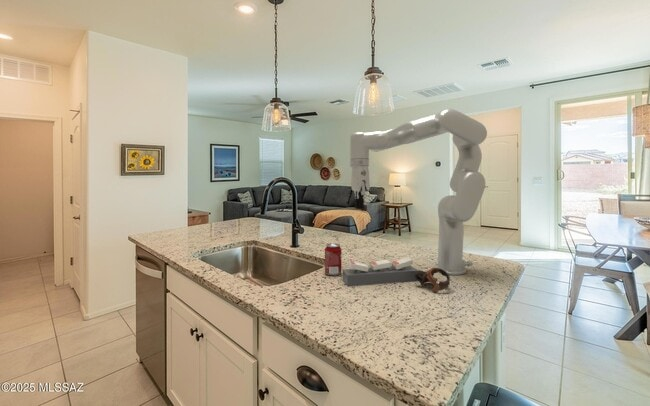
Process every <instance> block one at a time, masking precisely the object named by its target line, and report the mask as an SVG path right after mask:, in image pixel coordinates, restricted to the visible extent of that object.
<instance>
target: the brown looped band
mask: <svg viewBox="0 0 650 406" xmlns="http://www.w3.org/2000/svg"><path fill="white" fill-rule="evenodd" d="M417 270H418V271H416V272H415V273H414V276H415V278H416V280H417V281H416V282H418V283H419V284H420V285H421V286H423V285H424V284H426V283H431V284H432V285H433V288H432V289H431V290H432V292H434V293H437V294H438V292H439V291H443V290H446V289H448V288H449V286H450V281H451V277H450V274H448V273H447V272H446V271H444V270H442V269H440V268H434V267H431V268H430V269H428V270H427V271H423V270H420V269H417ZM440 272H441V273H440ZM438 273H440V274H441V275H442V276H444V277H446V280H444V281H440V280H439V279H438V278H437V277H434V275H435V274H438ZM418 275H420V276H421V277H419V276H418ZM438 280H439V283H438V282H437V281H438Z"/></svg>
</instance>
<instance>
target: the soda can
mask: <svg viewBox="0 0 650 406" xmlns="http://www.w3.org/2000/svg"><path fill="white" fill-rule="evenodd" d="M324 272H325V274H327V275H329V276H333V277H334V276H339V275H340V274H341V273H342V248H341V245H340V243H336V242H335V243H333V242H332V243H327V244H326V247H325V248H324Z"/></svg>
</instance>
